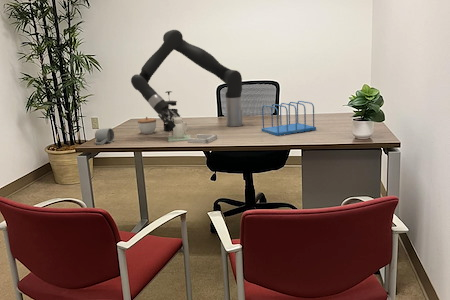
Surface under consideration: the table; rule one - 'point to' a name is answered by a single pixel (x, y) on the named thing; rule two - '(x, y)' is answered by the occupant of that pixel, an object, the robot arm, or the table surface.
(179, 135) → the figurine
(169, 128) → the french press
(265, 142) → the table surface
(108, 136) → the ceramic mug
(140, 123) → the lidded jar
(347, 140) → the table surface
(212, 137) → the holder
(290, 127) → the file sorter
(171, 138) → the mat
